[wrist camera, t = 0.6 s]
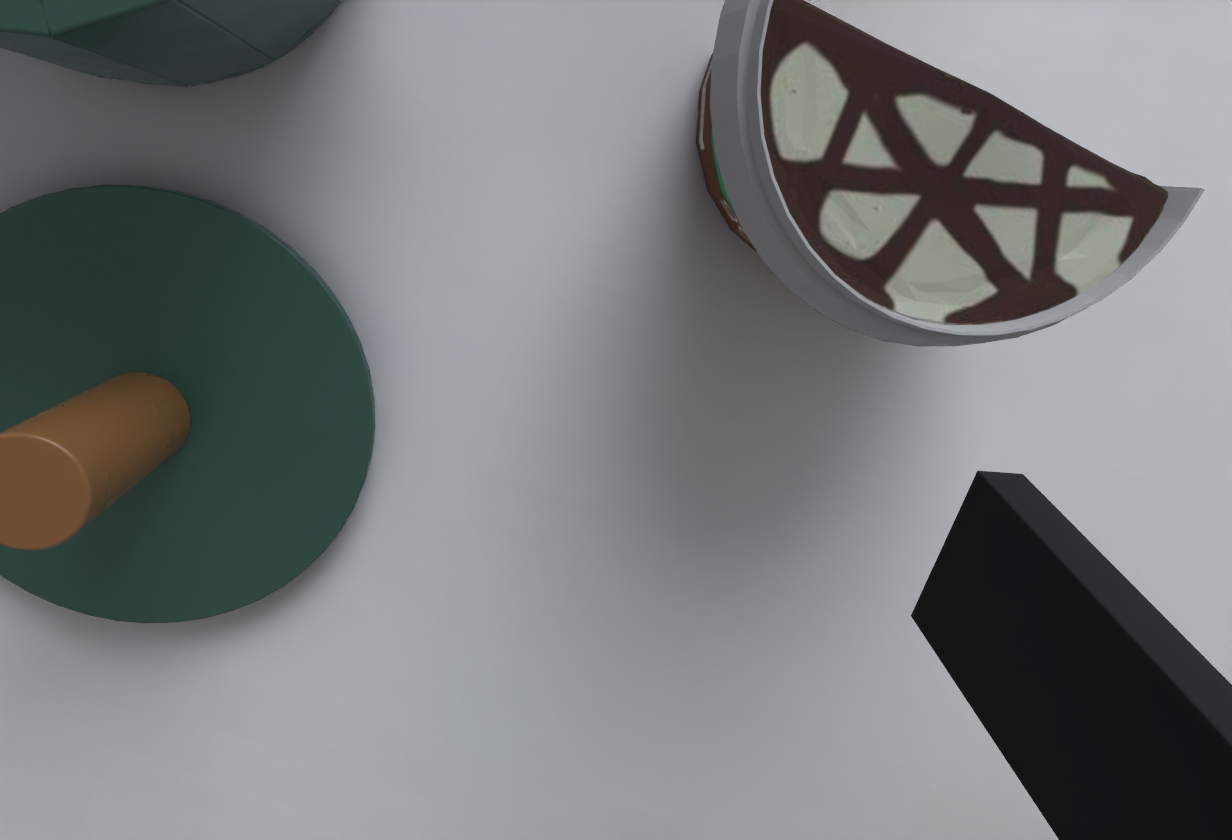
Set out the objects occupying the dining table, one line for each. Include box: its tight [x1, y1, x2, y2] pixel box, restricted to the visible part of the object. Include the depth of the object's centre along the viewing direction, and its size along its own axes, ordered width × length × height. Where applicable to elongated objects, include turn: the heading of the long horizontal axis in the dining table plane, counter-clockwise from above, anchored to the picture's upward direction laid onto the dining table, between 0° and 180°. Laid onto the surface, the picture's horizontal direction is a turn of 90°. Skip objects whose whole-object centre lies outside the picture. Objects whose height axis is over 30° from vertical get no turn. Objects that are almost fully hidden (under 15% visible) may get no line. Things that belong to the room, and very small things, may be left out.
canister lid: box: [0, 185, 375, 623], centre depth 25 cm, size 14×14×9 cm
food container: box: [696, 0, 1204, 346], centre depth 26 cm, size 12×6×10 cm, turn 66°
